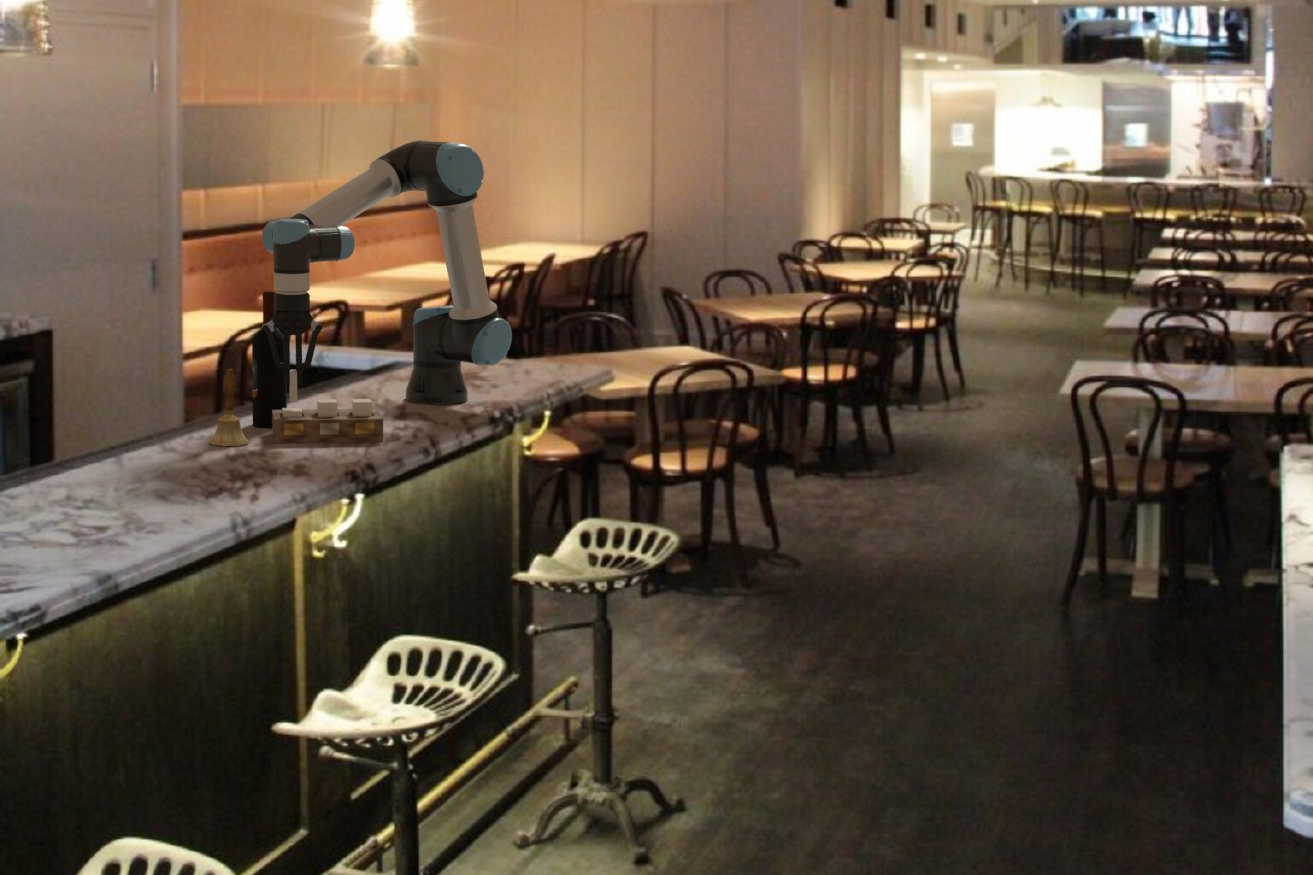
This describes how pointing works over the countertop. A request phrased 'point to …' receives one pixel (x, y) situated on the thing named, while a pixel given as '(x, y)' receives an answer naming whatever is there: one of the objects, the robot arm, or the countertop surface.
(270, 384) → the wine bottle
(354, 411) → the inner button
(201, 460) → the countertop surface
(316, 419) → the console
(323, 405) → the middle button
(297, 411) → the outer button
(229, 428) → the hand bell
